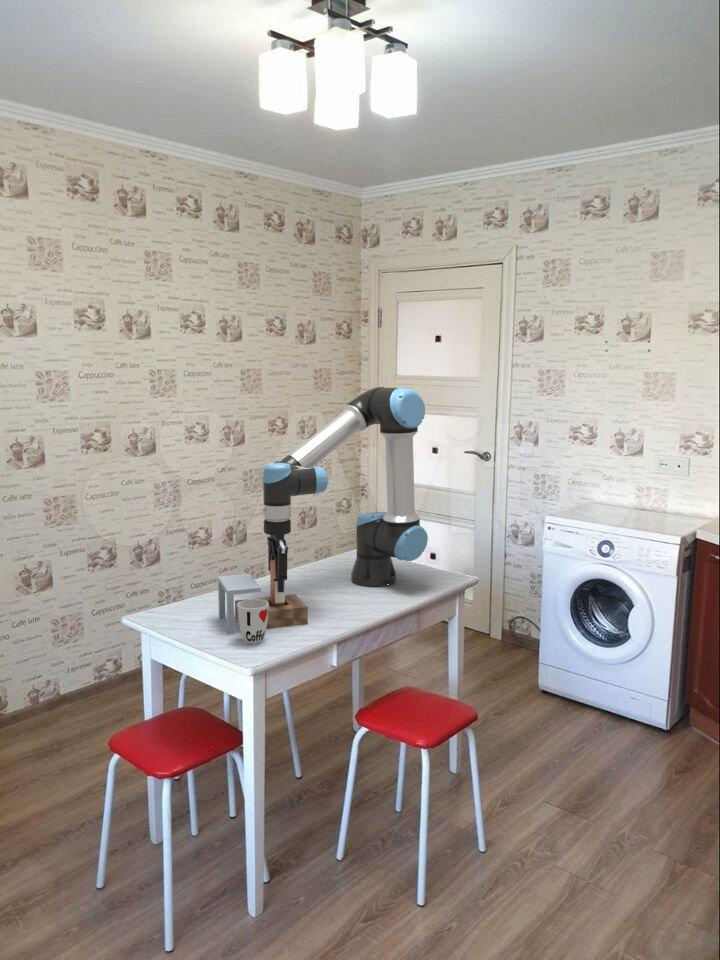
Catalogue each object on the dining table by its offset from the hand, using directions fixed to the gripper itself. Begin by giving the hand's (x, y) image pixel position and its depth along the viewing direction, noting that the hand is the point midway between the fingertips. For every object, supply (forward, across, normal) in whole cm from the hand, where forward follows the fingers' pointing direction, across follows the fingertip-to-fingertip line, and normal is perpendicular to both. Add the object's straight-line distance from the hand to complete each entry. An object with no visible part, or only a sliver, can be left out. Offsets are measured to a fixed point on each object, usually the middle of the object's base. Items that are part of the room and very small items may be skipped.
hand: (277, 599), depth 214 cm
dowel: (+3, 0, 0) cm, 3 cm away
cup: (+6, +13, -10) cm, 18 cm away
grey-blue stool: (+6, 0, -11) cm, 12 cm away
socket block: (+6, 0, -2) cm, 6 cm away
